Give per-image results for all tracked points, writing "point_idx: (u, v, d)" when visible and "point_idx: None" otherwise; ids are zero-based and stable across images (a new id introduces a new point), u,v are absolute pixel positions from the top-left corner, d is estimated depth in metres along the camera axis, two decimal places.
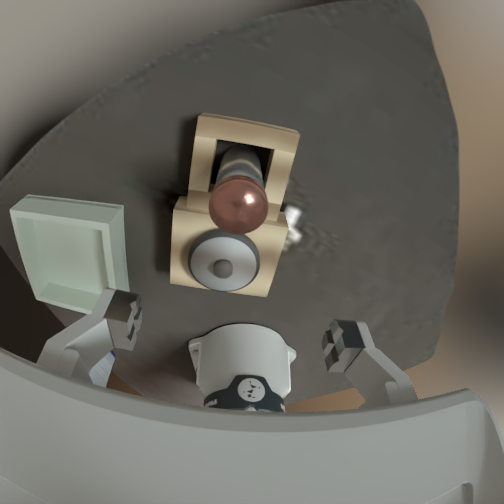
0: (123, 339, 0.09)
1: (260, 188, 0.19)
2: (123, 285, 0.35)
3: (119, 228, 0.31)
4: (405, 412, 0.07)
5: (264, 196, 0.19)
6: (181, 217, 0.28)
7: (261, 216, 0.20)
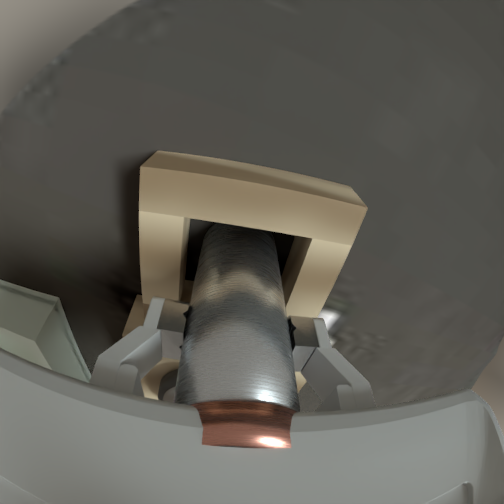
0: (175, 349, 0.10)
1: None
2: None
3: (59, 331, 0.18)
4: (405, 412, 0.07)
5: None
6: None
7: None
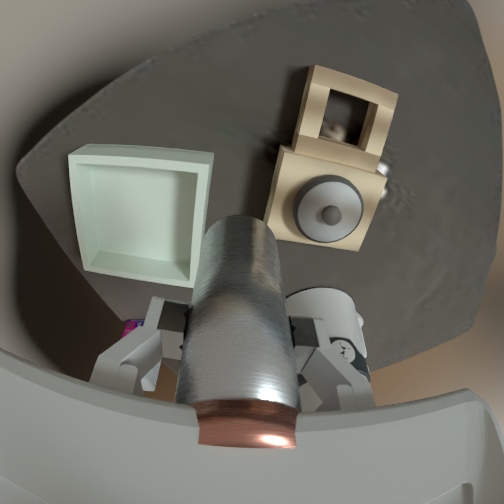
0: (175, 349, 0.10)
1: None
2: None
3: (210, 176, 0.30)
4: (405, 412, 0.07)
5: None
6: (292, 161, 0.27)
7: None
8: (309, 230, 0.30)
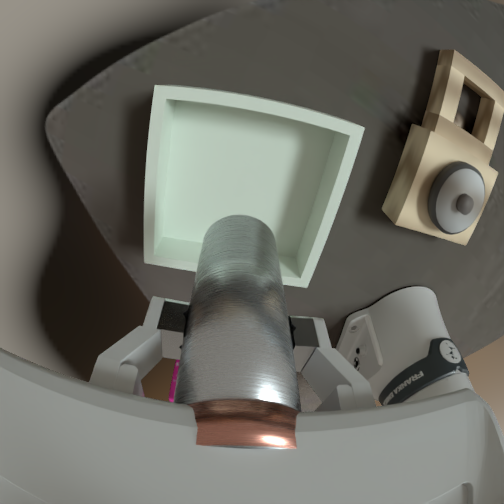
0: (175, 349, 0.10)
1: None
2: None
3: None
4: (405, 412, 0.07)
5: None
6: (435, 142, 0.20)
7: None
8: (443, 219, 0.23)
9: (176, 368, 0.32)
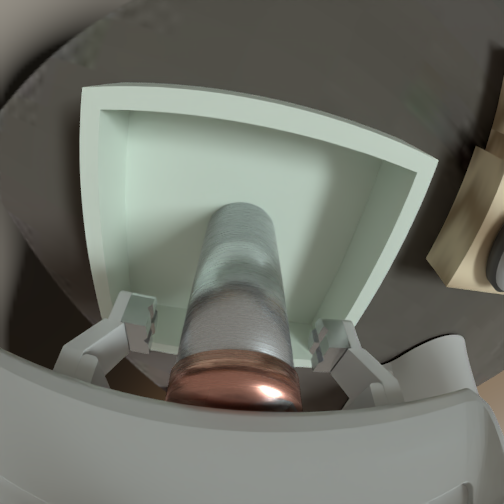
0: (140, 343, 0.09)
1: (287, 390, 0.07)
2: None
3: None
4: (405, 412, 0.07)
5: (296, 404, 0.07)
6: None
7: None
8: (502, 278, 0.14)
9: None
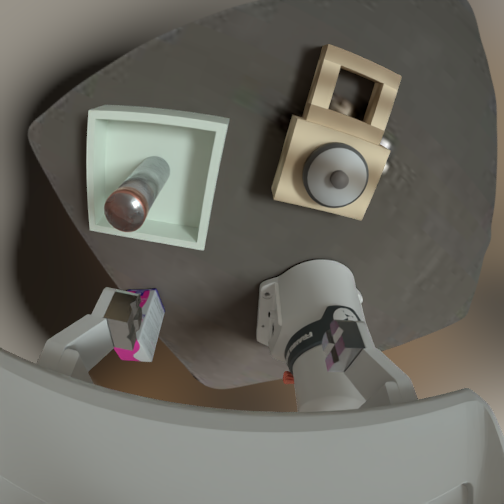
0: (123, 339, 0.09)
1: (137, 196, 0.23)
2: (211, 207, 0.35)
3: None
4: (405, 412, 0.07)
5: (140, 202, 0.23)
6: (304, 127, 0.28)
7: (141, 218, 0.24)
8: (317, 193, 0.31)
9: None
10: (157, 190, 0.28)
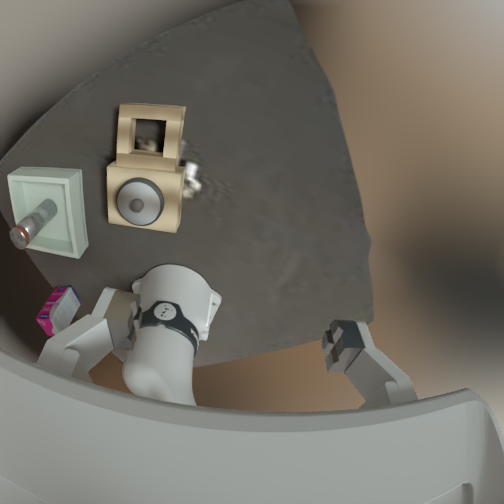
0: (123, 339, 0.09)
1: (20, 230, 0.33)
2: (81, 229, 0.45)
3: (78, 185, 0.40)
4: (405, 412, 0.07)
5: (21, 233, 0.33)
6: (112, 171, 0.38)
7: (24, 242, 0.34)
8: (127, 217, 0.40)
9: (44, 305, 0.50)
10: (39, 223, 0.38)
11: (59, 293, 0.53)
